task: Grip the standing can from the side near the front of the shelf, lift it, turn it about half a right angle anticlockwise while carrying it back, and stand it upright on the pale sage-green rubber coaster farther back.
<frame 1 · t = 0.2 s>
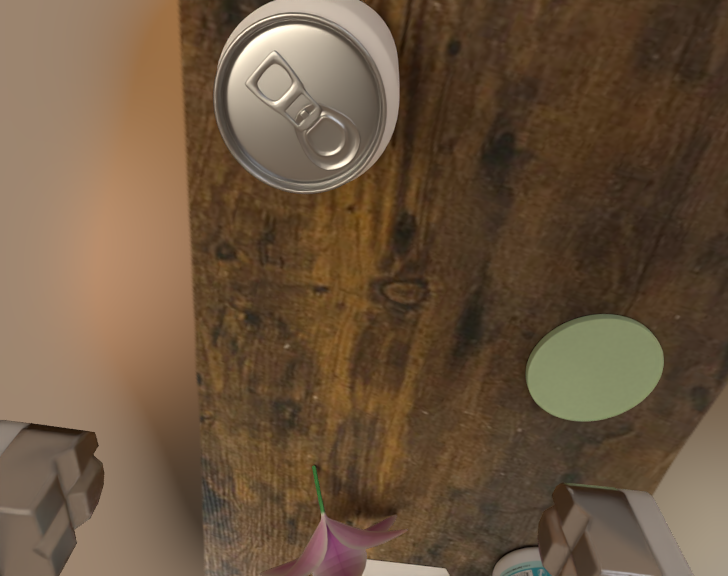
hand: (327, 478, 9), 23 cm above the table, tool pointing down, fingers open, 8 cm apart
coaster: (591, 367, 36), on the table
lily: (337, 494, 44), on the table
can: (336, 64, 27), on the table
pill bottle: (531, 565, 48), on the table
heart sculpture: (381, 574, 50), on the table
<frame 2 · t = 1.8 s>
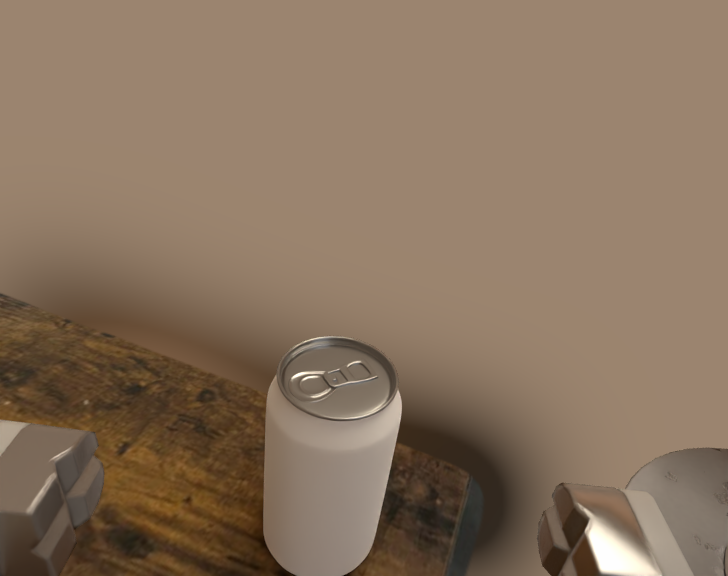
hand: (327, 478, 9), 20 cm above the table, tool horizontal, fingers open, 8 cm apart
can: (319, 530, 30), on the table
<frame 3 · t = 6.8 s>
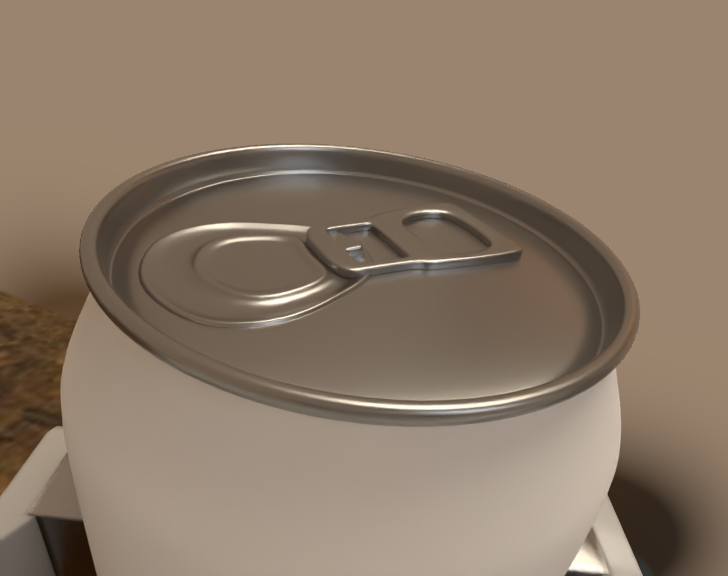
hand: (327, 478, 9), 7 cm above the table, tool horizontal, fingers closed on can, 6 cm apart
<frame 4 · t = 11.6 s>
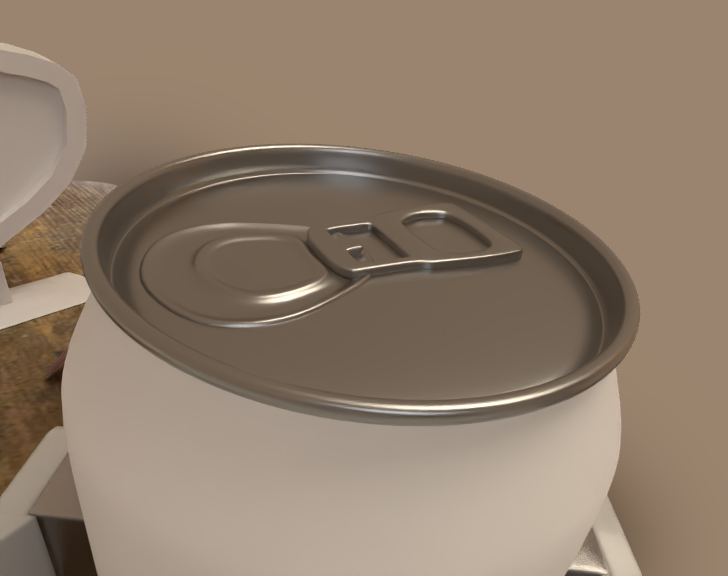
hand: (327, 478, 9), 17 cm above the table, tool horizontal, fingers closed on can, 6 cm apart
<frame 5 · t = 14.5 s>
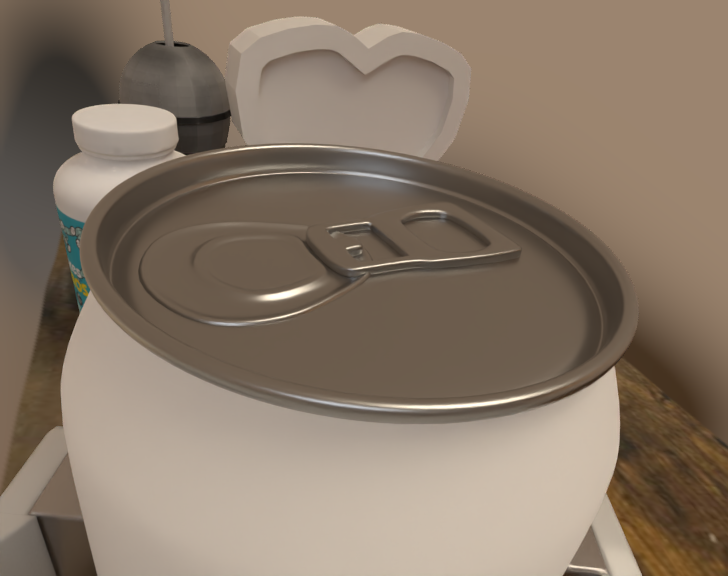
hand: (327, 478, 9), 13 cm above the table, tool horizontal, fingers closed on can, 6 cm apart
pill bottle: (153, 337, 32), on the table
beverage cup: (187, 259, 41), on the table
heart sculpture: (332, 280, 41), on the table
when the fingers open (7 cm above the table, at t = 16.8 s): can stays where it is, resting on coaster.
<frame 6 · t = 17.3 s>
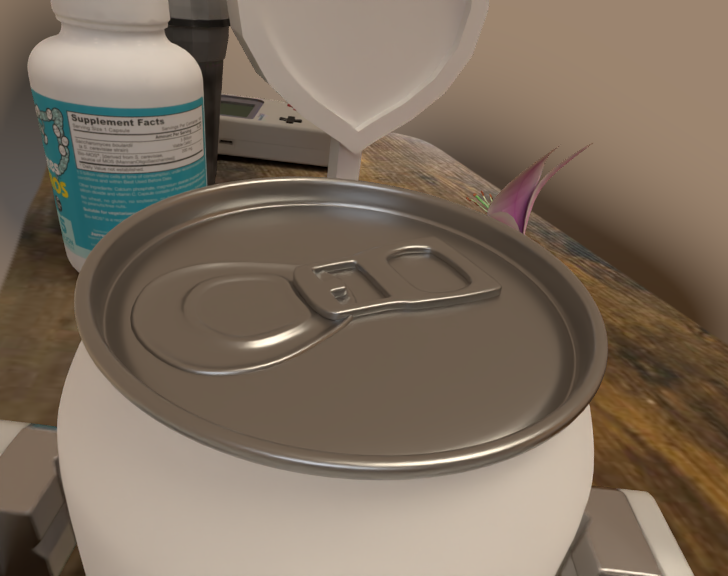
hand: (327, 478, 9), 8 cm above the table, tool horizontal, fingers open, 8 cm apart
handheld gaming device: (262, 151, 48), on the table
lily: (477, 288, 32), on the table
pill bottle: (142, 261, 29), on the table
beverage cup: (182, 195, 38), on the table
heart sculpture: (338, 217, 38), on the table
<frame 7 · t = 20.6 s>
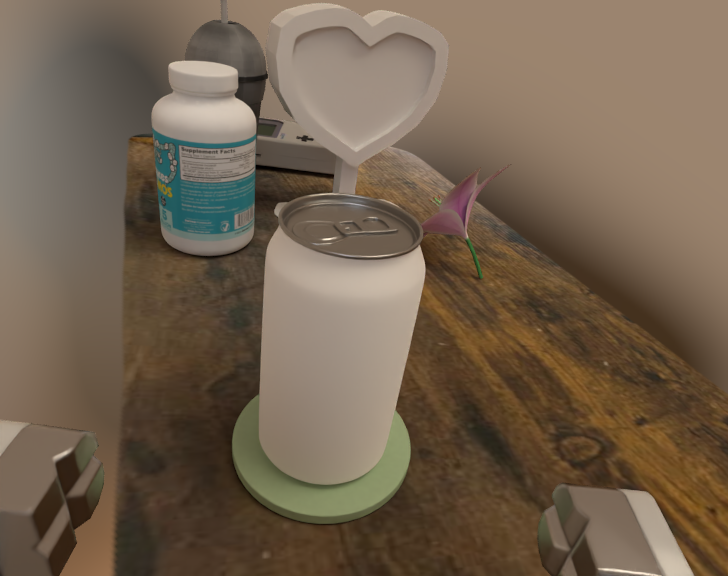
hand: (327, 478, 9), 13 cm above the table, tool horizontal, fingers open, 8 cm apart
coaster: (322, 443, 26), on the table
handheld gaming device: (282, 161, 62), on the table
lily: (437, 262, 46), on the table
can: (322, 438, 26), resting on coaster
pill bottle: (208, 240, 43), on the table
beverage cup: (227, 195, 52), on the table
heart sculpture: (341, 212, 52), on the table
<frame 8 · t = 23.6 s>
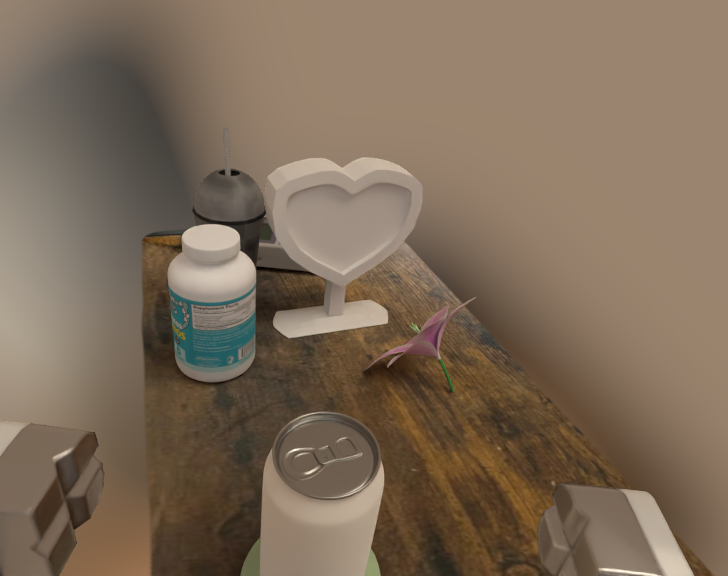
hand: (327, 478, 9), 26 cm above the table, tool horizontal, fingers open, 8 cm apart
handheld gaming device: (280, 256, 69), on the table
lily: (415, 373, 52), on the table
pill bottle: (216, 361, 50), on the table
beverage cup: (231, 304, 58), on the table
heart sculpture: (332, 319, 58), on the table
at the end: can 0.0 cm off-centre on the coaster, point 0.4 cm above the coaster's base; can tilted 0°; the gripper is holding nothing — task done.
